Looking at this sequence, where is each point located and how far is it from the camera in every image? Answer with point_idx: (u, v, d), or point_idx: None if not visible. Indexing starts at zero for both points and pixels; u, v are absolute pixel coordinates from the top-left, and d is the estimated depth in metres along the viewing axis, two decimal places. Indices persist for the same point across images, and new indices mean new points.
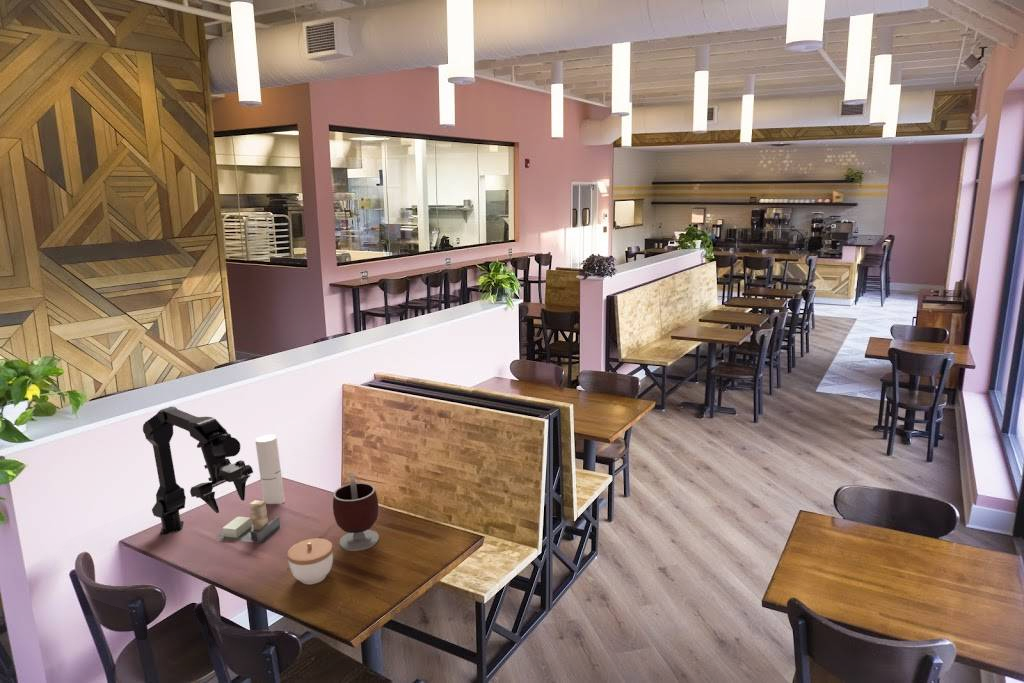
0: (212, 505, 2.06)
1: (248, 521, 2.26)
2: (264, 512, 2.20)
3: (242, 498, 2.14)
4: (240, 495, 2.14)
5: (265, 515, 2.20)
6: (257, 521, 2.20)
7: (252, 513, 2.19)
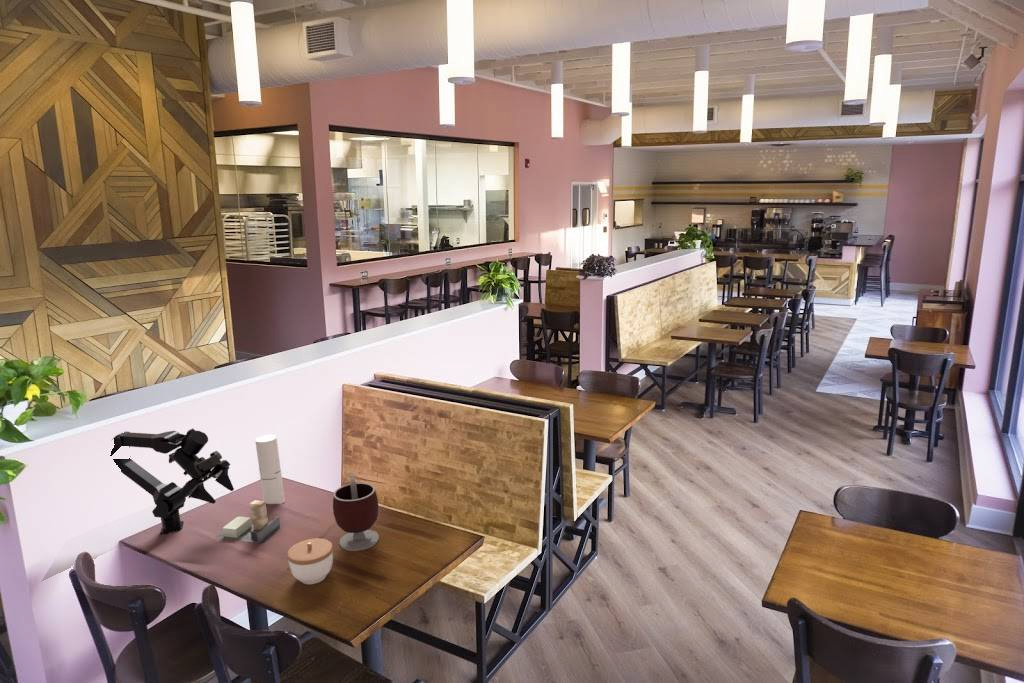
0: (206, 497, 2.17)
1: (248, 521, 2.26)
2: (264, 512, 2.20)
3: (231, 488, 2.26)
4: (228, 487, 2.27)
5: (265, 515, 2.20)
6: (257, 521, 2.20)
7: (252, 513, 2.19)
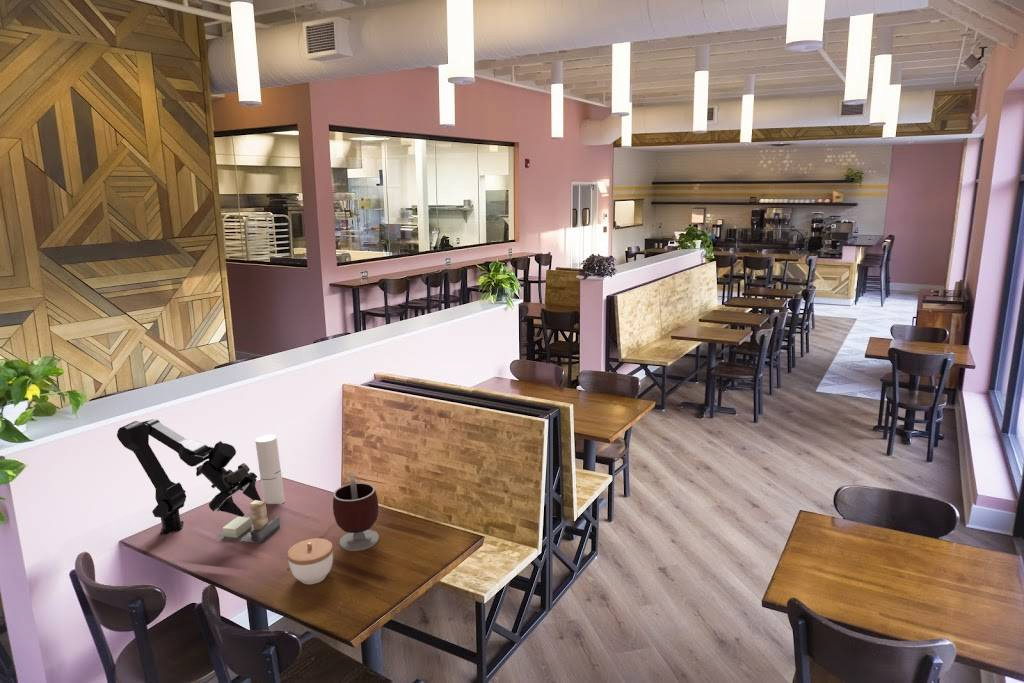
0: (235, 510, 2.15)
1: (248, 521, 2.26)
2: (264, 512, 2.20)
3: None
4: (256, 499, 2.25)
5: (265, 515, 2.20)
6: (257, 521, 2.20)
7: (252, 513, 2.19)
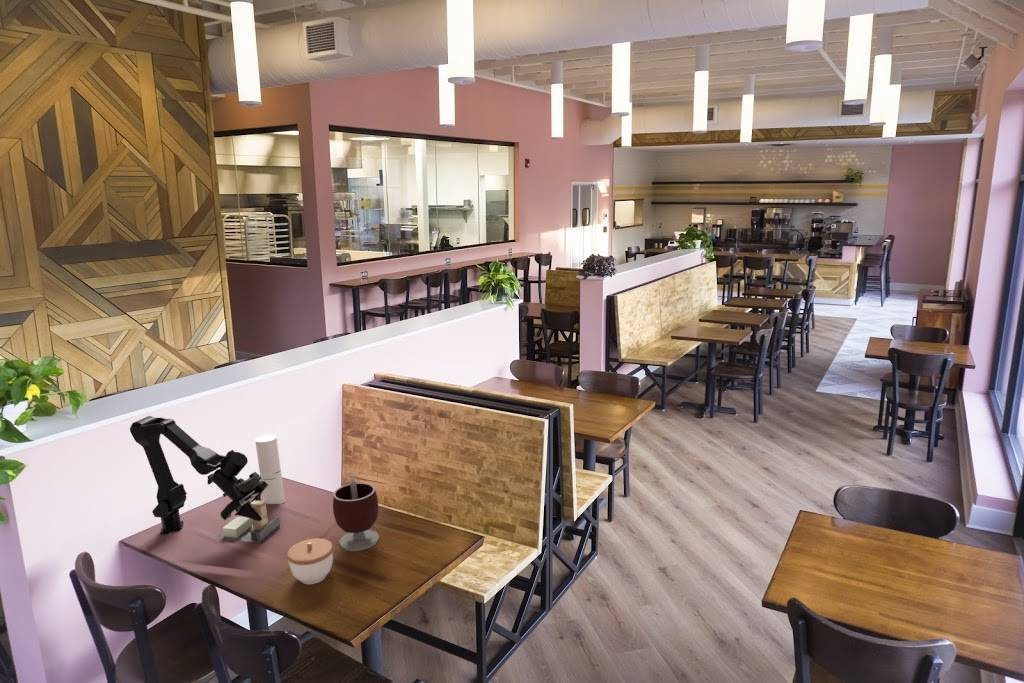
0: (253, 515, 2.18)
1: (248, 521, 2.26)
2: (264, 512, 2.20)
3: None
4: None
5: (265, 515, 2.20)
6: (257, 521, 2.20)
7: None
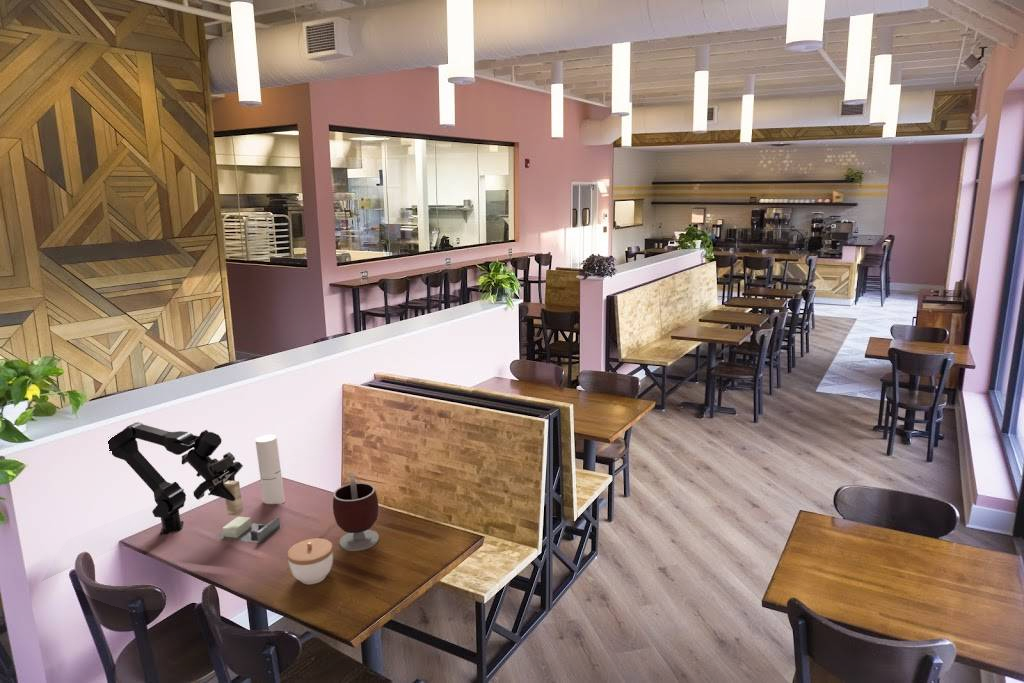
0: (226, 495, 2.19)
1: (248, 521, 2.26)
2: (237, 492, 2.21)
3: None
4: None
5: (239, 495, 2.21)
6: (230, 501, 2.21)
7: None
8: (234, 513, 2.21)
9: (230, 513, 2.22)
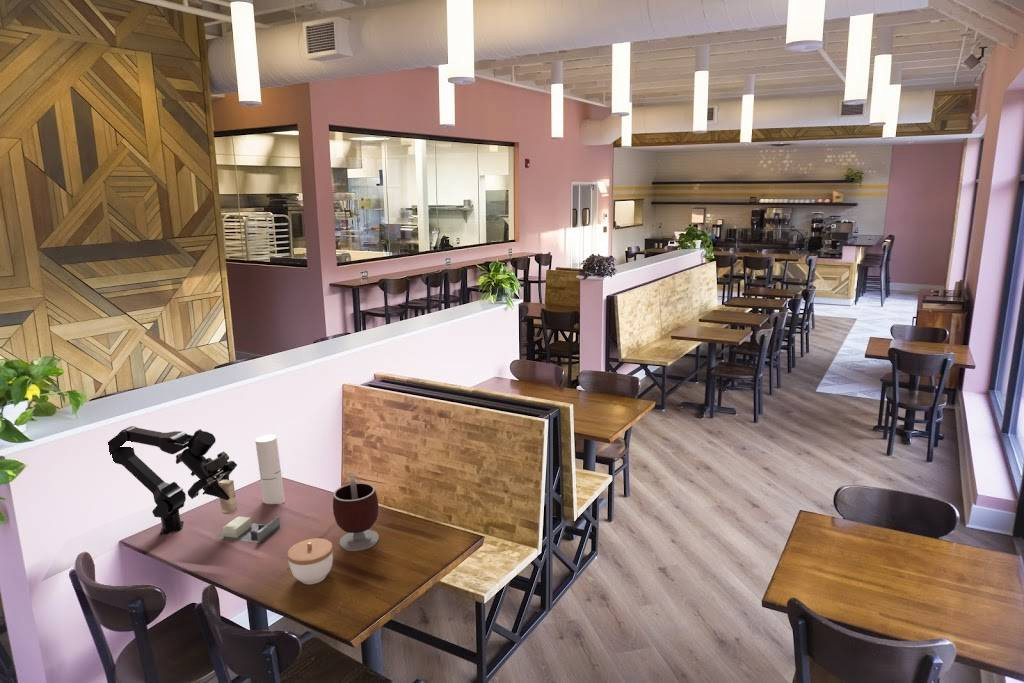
0: (220, 494, 2.19)
1: (248, 521, 2.26)
2: (232, 491, 2.21)
3: None
4: None
5: (233, 494, 2.22)
6: (225, 500, 2.21)
7: None
8: (228, 512, 2.22)
9: (224, 512, 2.22)
